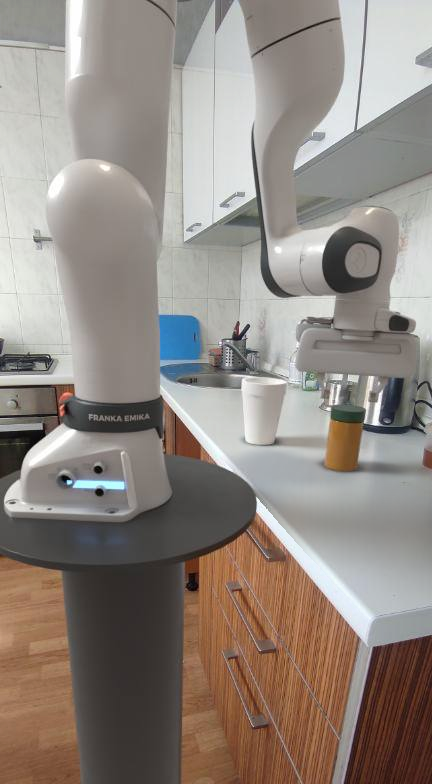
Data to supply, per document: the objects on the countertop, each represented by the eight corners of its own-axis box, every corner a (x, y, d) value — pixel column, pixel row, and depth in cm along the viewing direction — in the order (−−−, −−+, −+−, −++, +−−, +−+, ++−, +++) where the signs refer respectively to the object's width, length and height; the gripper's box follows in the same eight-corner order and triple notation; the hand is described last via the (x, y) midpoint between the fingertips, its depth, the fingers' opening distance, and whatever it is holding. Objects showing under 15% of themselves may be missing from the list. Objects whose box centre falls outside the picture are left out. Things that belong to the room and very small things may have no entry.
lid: (337, 422, 81) (339, 411, 81) (324, 414, 87) (325, 404, 86) (370, 422, 82) (372, 411, 82) (355, 414, 88) (356, 404, 87)
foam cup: (232, 435, 104) (235, 377, 100) (270, 433, 107) (275, 376, 103) (248, 448, 96) (252, 385, 91) (288, 445, 99) (294, 384, 94)
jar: (331, 471, 85) (339, 414, 81) (319, 461, 90) (326, 407, 86) (362, 471, 86) (371, 414, 82) (348, 460, 91) (356, 407, 87)
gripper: (297, 316, 77) (289, 399, 82) (426, 322, 74) (410, 408, 79) (298, 315, 83) (290, 392, 88) (418, 320, 80) (403, 400, 85)
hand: (348, 400), depth 84 cm, fingers open, 7 cm apart
